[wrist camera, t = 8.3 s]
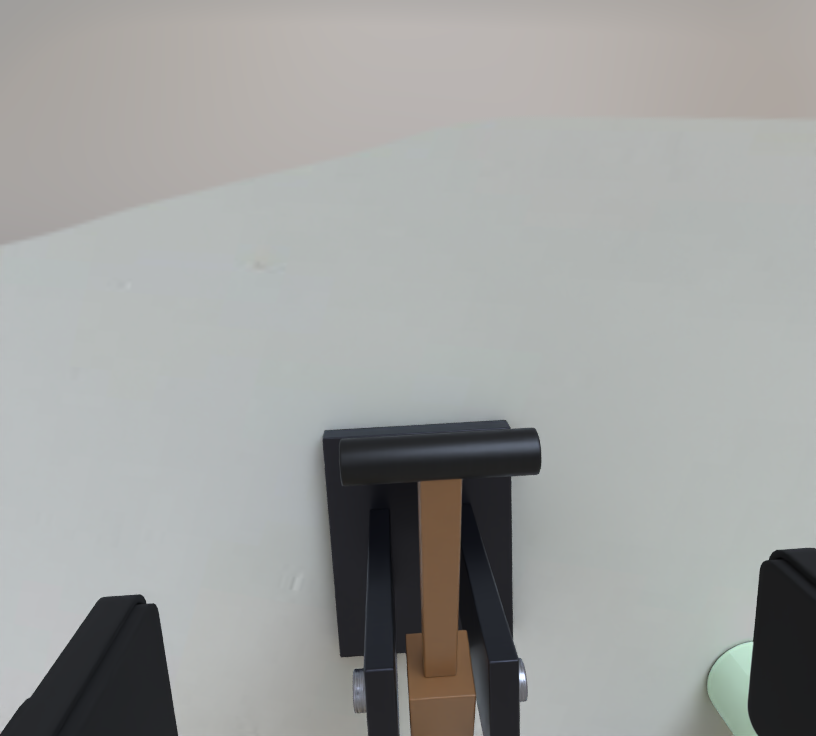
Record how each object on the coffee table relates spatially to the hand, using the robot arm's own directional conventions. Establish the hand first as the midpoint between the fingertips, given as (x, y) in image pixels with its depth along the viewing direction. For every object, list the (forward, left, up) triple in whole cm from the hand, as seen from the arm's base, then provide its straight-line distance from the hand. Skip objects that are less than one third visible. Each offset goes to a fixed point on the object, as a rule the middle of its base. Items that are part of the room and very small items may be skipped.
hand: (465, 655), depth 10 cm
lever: (+4, 0, -10) cm, 11 cm away
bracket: (+10, 0, -22) cm, 24 cm away
